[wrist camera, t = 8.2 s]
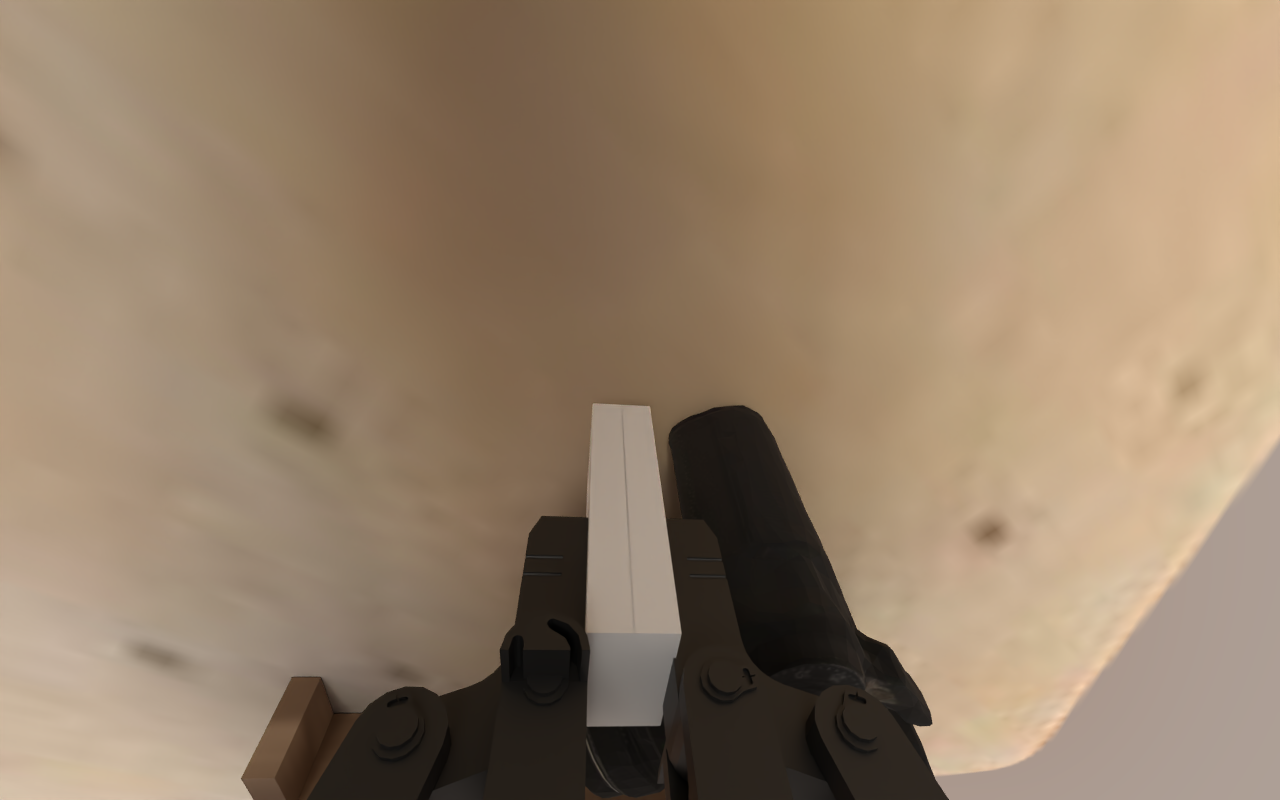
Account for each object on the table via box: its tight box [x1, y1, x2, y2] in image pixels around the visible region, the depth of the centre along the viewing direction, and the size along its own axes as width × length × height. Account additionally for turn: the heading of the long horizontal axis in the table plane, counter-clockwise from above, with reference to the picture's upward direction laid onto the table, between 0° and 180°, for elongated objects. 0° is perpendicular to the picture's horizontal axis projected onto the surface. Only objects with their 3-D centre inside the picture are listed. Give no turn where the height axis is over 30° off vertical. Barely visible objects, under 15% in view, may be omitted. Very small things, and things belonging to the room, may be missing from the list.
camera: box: [585, 406, 935, 798], centre depth 17 cm, size 14×11×10 cm
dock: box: [241, 677, 666, 800], centre depth 25 cm, size 4×26×4 cm, turn 84°
